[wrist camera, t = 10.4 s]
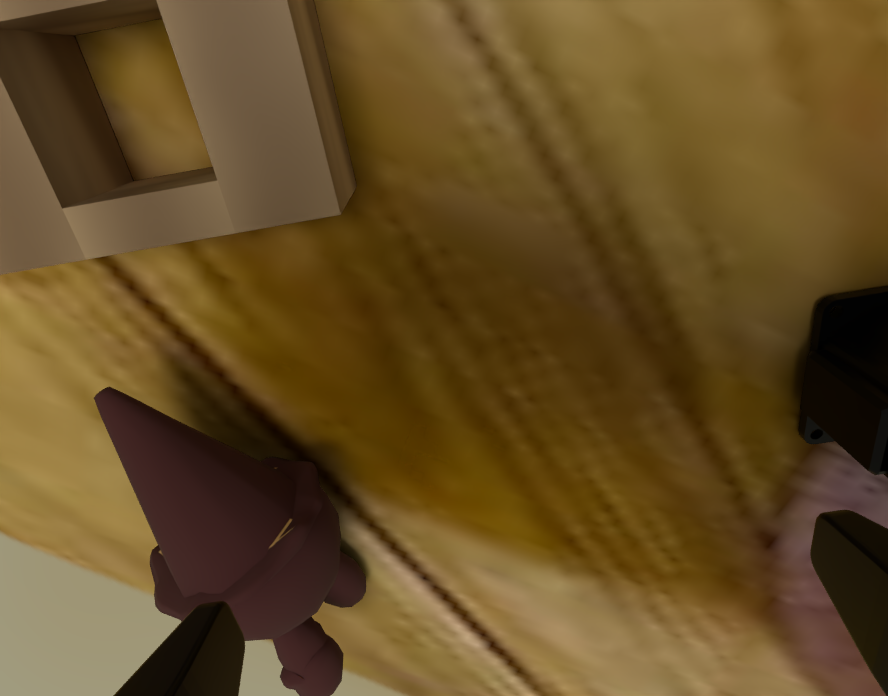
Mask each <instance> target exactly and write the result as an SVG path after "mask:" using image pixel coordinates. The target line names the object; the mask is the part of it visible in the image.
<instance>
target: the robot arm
mask: <svg viewBox="0 0 888 696" xmlns="http://www.w3.org/2000/svg"><path fill="white" fill-rule="evenodd" d="M835 306H837V307H836V309H835V311H834V312H833V313H831V314H829V313H830V311H831V309H832V308H833V307H835ZM800 409H801V417H800V424H799V435H800V436H801V437H802V438H803V439H804V440H805V441H806V442H807V443H809V444H819V443H826V442H833V441H836V442H837V443H838V444H839V445H840V446H841V447H842V448H844V449H845V450H846V451H847V452H848V453H849V454H850V455H851V456H852V457H853V458H855V459H856V460H857V461H858V462H859V463H860V464H861V465H862V466H863V467H864V468H866V469H867V470H868V471H869V472H871V473H872V474H874V475H879V474H884V475H885V476H886V477H887V478H888V286H887V287H881V288H875V289H869V290H863V291H856V292H850V293H844V294H838V295H832V296H829V297H826V298H824V299H823V300H822V301H821V302H820V303H819V304H818V305H817V308H816V312H815V319H814V326H813V333H812V340H811V347H810V354H809V356H808V358H807V364H806V371H805V378H804V385H803V392H802V399H801V406H800ZM814 430H816V431H814ZM813 431H814V432H813ZM812 432H813V433H812ZM810 555H811V561H812V564H813V567H814V569H815V571H816V573H817V575H818V577H819V579H820V580H821V582H822V584H823V586H824V588H825V590H826V591H827V593H828V595H829V597H830V599H831V601H832V602H833V604H834V606H835V608H836V610H837V612H838V613H839V615H840V617H841V619H842V621H843V622H844V624H845V626H846V628H847V630H848V632H849V633H850V635H851V637H852V639H853V641H854V643H855V644H856V646H857V648H858V650H859V652H860V654H861V655H862V657H863V659H864V661H865V662H866V664H867V666H868V667H869V669H870V671H871V673H872V674H873V676H874V677H875V679H876V680H877V682H878V683H879V685H880V687H881V688H882V690H883V691H884V693H885V694H886V696H888V529H887V528H885V527H883V526H881V525H879V524H877V523H875V522H873V521H871V520H869V519H867V518H865V517H863V516H862V515H860V514H858V513H855V512H853V511H850V510H839V511H832V512H825V513H821V514H820V515H819V516H818V517H817V519H816V523H815V528H814V534H813V540H812V545H811V553H810ZM244 652H245V639H244V635H243V632H242V630H241V628H240V626H239V624H238V622H237V620H236V618H235V616H234V614H233V612H232V610H231V608H230V606H229V605H228V604H227V603H226V602H224V601H217V602H210V603H204V604H200V605H198V606H197V607H195V608H194V609H193V610H192V611H191V612H190V614H189V615H188V616H187V617H186V618H185V619H184V620H183V621H182V622H181V623H180V624H179V625H178V626H177V628H176V629H175V630H174V631H173V632H172V633H171V634H170V635H169V636H168V637H167V639H166V640H165V641H164V642H163V643H162V644H161V645H160V646H159V647H158V648H157V649H156V650H155V651H154V653H153V654H152V655H151V656H150V657H149V658H148V659H147V660H146V661H145V662H144V663H143V664H142V665H141V667H140V668H139V669H138V670H137V671H136V672H135V673H134V674H133V675H132V676H131V677H130V679H128V681H127V682H126V683H125V684H124V685H123V686H122V687H121V688H120V689H119V690H118V691H117V692H116V694H115V695H114V696H238V693H239V686H240V679H241V672H242V665H243V658H244Z"/></svg>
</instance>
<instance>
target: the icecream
mask: <svg viewBox="0 0 888 696" xmlns="http://www.w3.org/2000/svg"><path fill="white" fill-rule="evenodd" d="M94 399H95V402H96V405H97V407H98V410H99V413H100V415H101V418H102V420H103V422H104V424H105V427H106V429H107V431H108V433H109V435H110V438H111V440H112V442H113V444H114V447H115V449H116V451H117V453H118V456H119V458H120V460H121V462H122V465H123V467H124V469H125V471H126V474H127V476H128V478H129V480H130V483H131V485H132V487H133V489H134V492H135V494H136V496H137V498H138V501H139V503H140V505H141V507H142V510H143V512H144V514H145V516H146V519H147V521H148V523H149V525H150V528H151V530H152V532H153V534H154V537H155V539H156V541H157V543H158V546H156V547H155V548H154V549H153V550H152V552H151V555H150V567H151V571H152V575H153V578H154V582H155V593H154V597H155V605H156V607H157V608H158V610H159V611H160V612H162V613H164V614H167V615H169V616H172V617H175V618H177V619H180V620H181V621H183V620H184V619H185V618H186V617H187V616H188V615H189V614H190V612H191V611H192V610H193V609H194V608H195V607H197V606H198V605H200V604H204V603H210V602H217V601H224V602H226V603H227V604H228V605H229V606H230V608H231V610H232V612H233V614H234V616H235V618H236V620H237V622H238V624H239V626H240V628H241V630H242V632H243V635H244V639H245V641H251V640H264V639H273V642H274V646H275V649H276V652H277V655H278V658H279V660H280V662H281V664H282V665H283V668H282V672H281V675H280V678H281V680H282V682H283V685H284V686H285V687H286V688H289V689H294V690H296V692H297V693H298V694H299V695H300V696H330V695H332V694H333V693H334V691H335V690H336V688H337V687H338V685H339V684H340V682H341V679H342V670H343V652H342V651H341V649H340V647H339V645H338V644H337V643H336V642H335V641H334V640H333V638H331V637H330V636H328V635H327V634H325V632H324V630H323V628H322V627H321V625H320V624H319V623H318V622H316V621H314V619H313V618H312V617H311V616H312V615H314V614H315V613H316V612H317V611H318V610H319V608H320V606H321V605H322V603H323V601H324V602H325V603H328V604H331V605H335V606H338V607H341V608H343V607H352V606H354V605H355V604H356V603H358V602H359V601H360V600H361V599H362V598H363V596H364V594H365V592H366V576H365V575H364V573H363V571H362V570H361V568H360V567H359V565H358V564H357V562H356V561H354V560H353V559H352V558H351V557H350V556H348V555H346V554H344V553H342V552H341V551H340V540H341V534H340V526H339V517H338V513H337V511H336V510H335V508H334V506H333V504H332V503H331V501H330V499H329V498H328V496H327V494H326V493H325V492H324V490H323V489H322V488H321V487H320V484H319V478H318V472H317V468H316V466H315V465H314V463H313V462H308V461H292V460H287V459H282V458H277V457H269V458H266V459H264V460H263V461H261V462H260V461H258V460H256V459H254V458H252V457H250V456H248V455H246V454H244V453H242V452H240V451H238V450H236V449H234V448H232V447H230V446H228V445H226V444H224V443H222V442H220V441H218V440H216V439H214V438H212V437H209V436H207V435H205V434H203V433H201V432H199V431H197V430H195V429H193V428H191V427H189V426H187V425H185V424H183V423H181V422H179V421H177V420H175V419H173V418H171V417H169V416H167V415H165V414H163V413H161V412H159V411H157V410H155V409H153V408H152V407H150V406H148V405H146V404H144V403H142V402H140V401H138V400H136V399H134V398H132V397H130V396H128V395H126V394H124V393H122V392H120V391H118V390H116V389H113V388H111V387H107V388H105V389H103V390H102V391H100V392H99V393H98V394H97V395H96V396H95V397H94Z"/></svg>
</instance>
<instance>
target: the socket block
mask: <svg viewBox="0 0 888 696" xmlns="http://www.w3.org/2000/svg"><path fill="white" fill-rule="evenodd" d="M156 19H163V22H164V25H165V28H166V31H167V33H168V36H169V39H170V42H171V45H172V48H173V51H174V54H175V57H176V60H177V63H178V66H179V69H180V72H181V75H182V78H183V81H184V83H185V86H186V89H187V92H188V95H189V98H190V101H191V104H192V107H193V110H194V113H195V116H196V119H197V122H198V125H199V128H200V131H201V133H202V136H203V139H204V142H205V145H206V148H207V151H208V154H209V157H210V160H211V163H212V166H213V167H209V168H203V169H198V170H192V171H187V172H181V173H176V174H170V175H165V176H159V177H154V178H148V179H143V180H137V181H133V179H132V177H131V174H130V172H129V169H128V167H127V164H126V162H125V159H124V157H123V155H122V152H121V150H120V147H119V145H118V142H117V140H116V137H115V135H114V132H113V130H112V127H111V125H110V123H109V120H108V118H107V115H106V113H105V110H104V108H103V105H102V103H101V100H100V98H99V95H98V93H97V91H96V88H95V86H94V83H93V81H92V78H91V76H90V73H89V71H88V68H87V66H86V63H85V61H84V59H83V56H82V54H81V51H80V49H79V46H78V44H77V41H76V39H75V35H80V34H85V33H90V32H95V31H100V30H105V29H110V28H116V27H121V26H126V25H131V24H136V23H141V22H146V21H151V20H156ZM356 187H357V185H356V181H355V176H354V172H353V168H352V163H351V159H350V155H349V150H348V146H347V142H346V138H345V133H344V129H343V125H342V120H341V116H340V112H339V107H338V103H337V99H336V94H335V90H334V86H333V81H332V77H331V73H330V69H329V64H328V60H327V56H326V51H325V47H324V43H323V38H322V34H321V30H320V25H319V21H318V17H317V12H316V8H315V4H314V0H0V275H1V274H7V273H13V272H18V271H24V270H30V269H35V268H41V267H47V266H52V265H58V264H64V263H69V262H75V261H81V260H86V259H92V258H98V257H103V256H109V255H115V254H120V253H126V252H132V251H137V250H143V249H149V248H155V247H160V246H166V245H172V244H177V243H183V242H189V241H194V240H200V239H206V238H211V237H217V236H223V235H228V234H234V233H240V232H245V231H251V230H257V229H262V228H268V227H274V226H279V225H285V224H291V223H296V222H302V221H308V220H314V219H319V218H325V217H331V216H336V215H341V213H342V212H343V210H344V208H345V206H346V205H347V203H348V201H349V199H350V198H351V196H352V194H353V192H354V191H355V189H356Z"/></svg>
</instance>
